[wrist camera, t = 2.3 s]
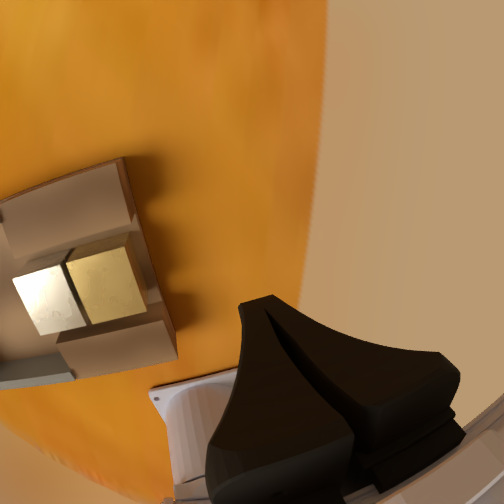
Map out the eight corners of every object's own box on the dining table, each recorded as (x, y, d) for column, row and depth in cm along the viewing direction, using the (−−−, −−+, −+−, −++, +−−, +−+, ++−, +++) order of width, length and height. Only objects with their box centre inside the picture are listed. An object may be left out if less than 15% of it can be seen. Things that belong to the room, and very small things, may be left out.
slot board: (175, 332, 22) (178, 359, 19) (-2, 367, 19) (-12, 391, 16) (123, 156, 16) (115, 161, 14) (-68, 234, 14) (-89, 248, 11)
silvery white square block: (93, 303, 18) (86, 325, 16) (50, 314, 18) (40, 335, 16) (71, 247, 17) (59, 264, 14) (26, 261, 16) (12, 279, 14)
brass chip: (148, 290, 19) (146, 311, 17) (98, 302, 18) (92, 324, 16) (129, 231, 17) (124, 246, 15) (76, 246, 17) (65, 263, 15)
